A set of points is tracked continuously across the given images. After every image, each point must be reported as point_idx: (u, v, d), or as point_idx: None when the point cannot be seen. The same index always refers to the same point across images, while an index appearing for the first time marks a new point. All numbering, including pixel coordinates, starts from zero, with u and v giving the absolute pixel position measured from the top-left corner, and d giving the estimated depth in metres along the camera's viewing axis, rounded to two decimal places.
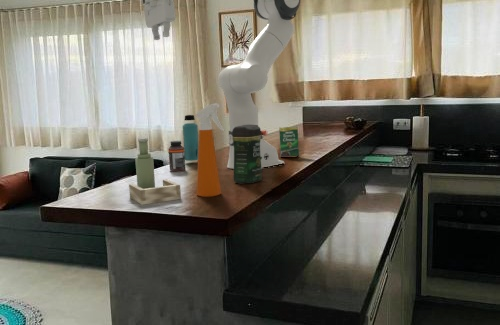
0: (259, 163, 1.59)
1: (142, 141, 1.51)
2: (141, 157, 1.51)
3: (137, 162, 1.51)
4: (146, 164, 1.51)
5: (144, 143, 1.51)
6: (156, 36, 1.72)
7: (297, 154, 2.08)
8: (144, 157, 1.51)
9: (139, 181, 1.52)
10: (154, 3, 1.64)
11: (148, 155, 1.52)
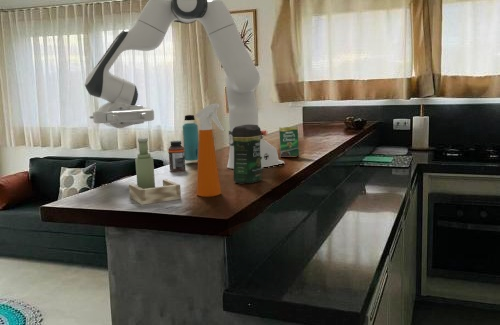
0: (259, 163, 1.59)
1: (142, 141, 1.51)
2: (141, 157, 1.51)
3: (137, 162, 1.51)
4: (146, 164, 1.51)
5: (144, 143, 1.51)
6: (141, 117, 1.64)
7: (297, 154, 2.08)
8: (144, 157, 1.51)
9: (139, 181, 1.52)
10: (115, 122, 1.70)
11: (148, 155, 1.51)
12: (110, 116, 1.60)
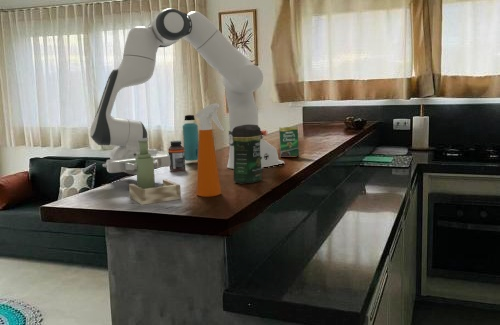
0: (259, 163, 1.59)
1: (142, 141, 1.50)
2: (141, 157, 1.51)
3: (137, 162, 1.51)
4: (146, 164, 1.51)
5: (145, 143, 1.51)
6: None
7: (297, 154, 2.08)
8: (144, 157, 1.51)
9: (139, 181, 1.52)
10: None
11: (148, 155, 1.51)
12: (129, 165, 1.52)
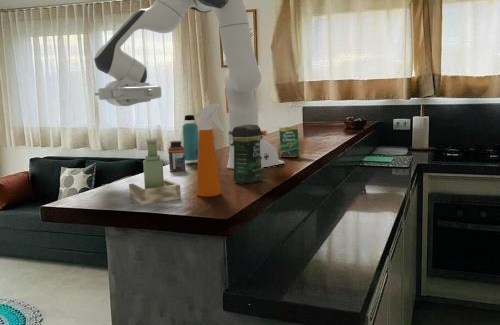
0: (259, 163, 1.59)
1: (151, 142, 1.37)
2: (150, 159, 1.38)
3: (145, 165, 1.38)
4: (155, 168, 1.37)
5: (153, 144, 1.38)
6: (148, 93, 1.58)
7: (297, 154, 2.08)
8: (153, 159, 1.38)
9: (147, 186, 1.38)
10: (121, 100, 1.64)
11: (157, 157, 1.38)
12: (116, 92, 1.54)
